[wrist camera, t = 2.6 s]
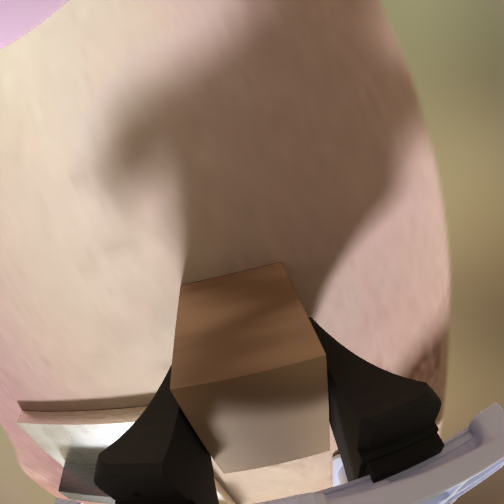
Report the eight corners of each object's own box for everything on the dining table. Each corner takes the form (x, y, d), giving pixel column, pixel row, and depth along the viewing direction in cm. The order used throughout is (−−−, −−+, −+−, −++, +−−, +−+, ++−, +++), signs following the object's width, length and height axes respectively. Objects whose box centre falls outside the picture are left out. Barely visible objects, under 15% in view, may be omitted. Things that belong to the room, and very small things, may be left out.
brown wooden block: (281, 261, 14) (326, 354, 8) (297, 359, 16) (329, 450, 11) (180, 285, 14) (169, 389, 8) (215, 377, 16) (224, 473, 11)
